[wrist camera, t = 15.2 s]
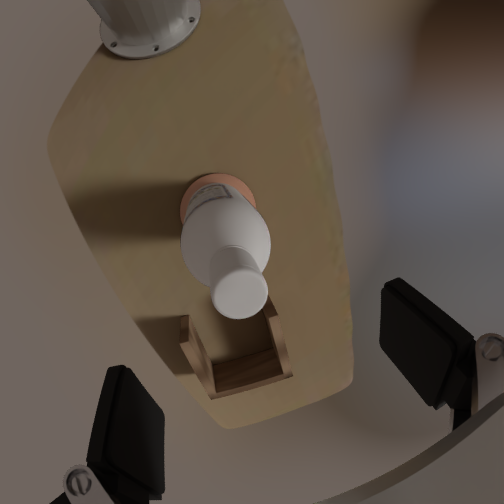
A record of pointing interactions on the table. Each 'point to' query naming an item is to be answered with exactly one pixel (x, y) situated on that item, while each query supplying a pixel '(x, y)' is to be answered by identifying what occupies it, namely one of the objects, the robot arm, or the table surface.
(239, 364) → the shelf bay
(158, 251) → the table surface
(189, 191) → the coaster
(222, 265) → the bath foam
